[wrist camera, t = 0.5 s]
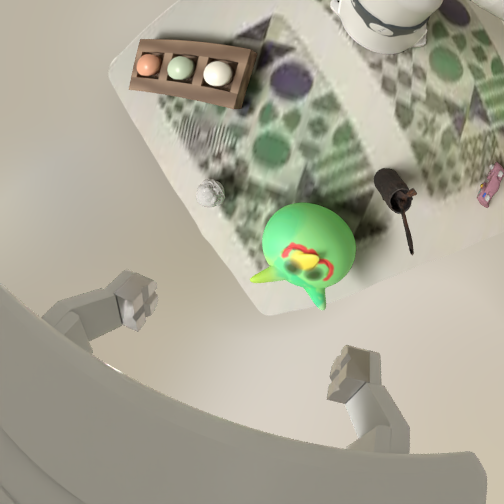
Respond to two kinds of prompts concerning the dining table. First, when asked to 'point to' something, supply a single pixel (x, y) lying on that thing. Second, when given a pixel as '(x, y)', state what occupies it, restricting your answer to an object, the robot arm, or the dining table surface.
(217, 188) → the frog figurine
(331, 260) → the toy bird
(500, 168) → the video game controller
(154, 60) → the terracotta button
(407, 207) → the butter churn
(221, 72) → the cream button
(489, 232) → the dining table surface
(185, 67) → the sage button
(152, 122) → the dining table surface
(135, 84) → the button panel
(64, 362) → the robot arm
